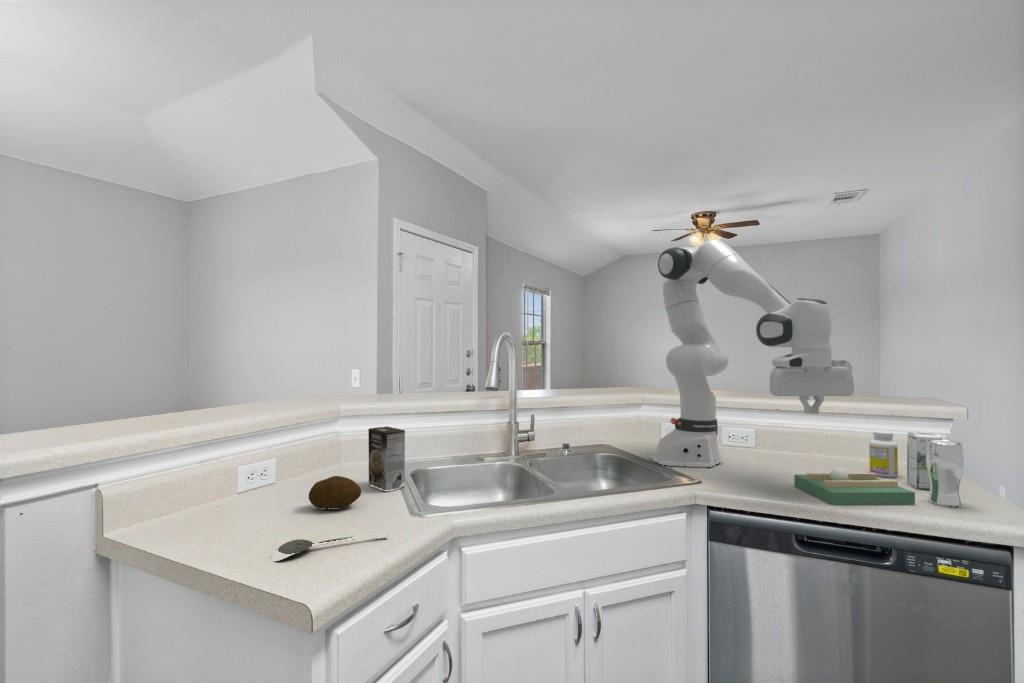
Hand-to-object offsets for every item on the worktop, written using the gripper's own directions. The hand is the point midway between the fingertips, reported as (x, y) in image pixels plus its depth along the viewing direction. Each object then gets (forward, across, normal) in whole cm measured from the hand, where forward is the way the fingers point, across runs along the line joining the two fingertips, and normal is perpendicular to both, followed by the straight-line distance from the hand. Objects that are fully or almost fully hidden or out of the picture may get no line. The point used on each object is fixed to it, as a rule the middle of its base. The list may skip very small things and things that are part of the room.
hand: (811, 413), depth 126 cm
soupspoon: (+22, +113, +32) cm, 120 cm away
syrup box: (+21, -34, -6) cm, 41 cm away
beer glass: (+21, -28, +7) cm, 36 cm away
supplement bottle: (+21, -32, -18) cm, 42 cm away
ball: (+16, -7, 0) cm, 18 cm away
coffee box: (+21, +113, -8) cm, 115 cm away
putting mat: (+21, -10, 0) cm, 23 cm away
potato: (+21, +121, +9) cm, 123 cm away
